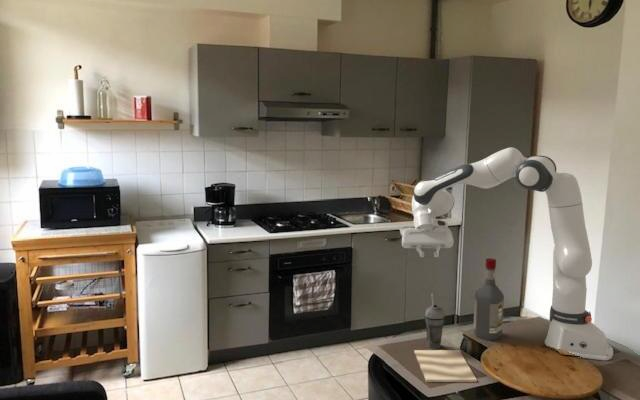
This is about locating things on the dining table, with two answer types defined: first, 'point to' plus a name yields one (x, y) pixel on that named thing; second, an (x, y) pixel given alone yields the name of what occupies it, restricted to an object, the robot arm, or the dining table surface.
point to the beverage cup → (434, 325)
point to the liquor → (488, 306)
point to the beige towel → (444, 366)
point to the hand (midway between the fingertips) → (429, 256)
